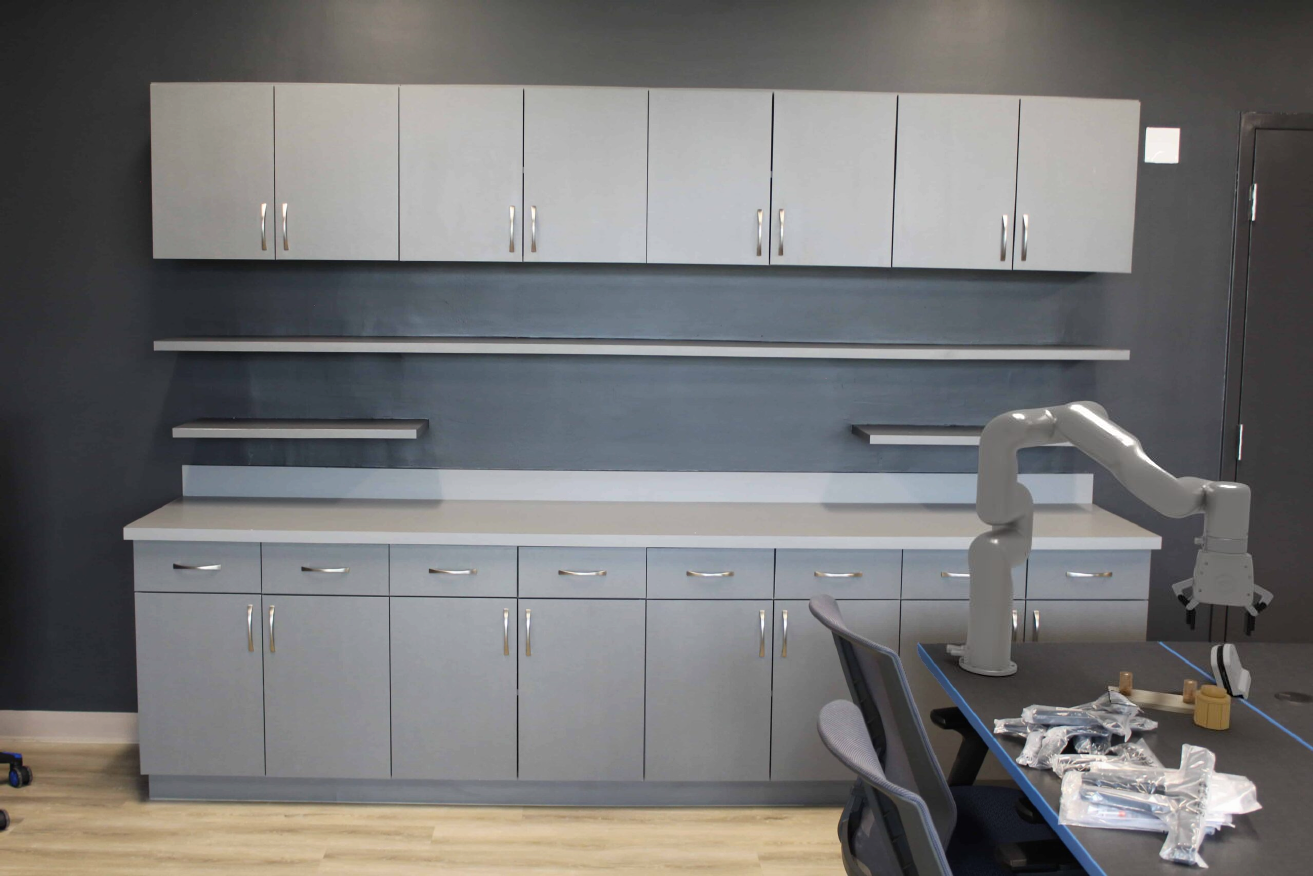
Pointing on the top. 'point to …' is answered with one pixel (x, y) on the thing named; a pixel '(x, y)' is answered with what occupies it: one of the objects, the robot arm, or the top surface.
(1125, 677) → the post left
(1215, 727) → the cap
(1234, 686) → the hinge
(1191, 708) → the plate
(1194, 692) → the post right
